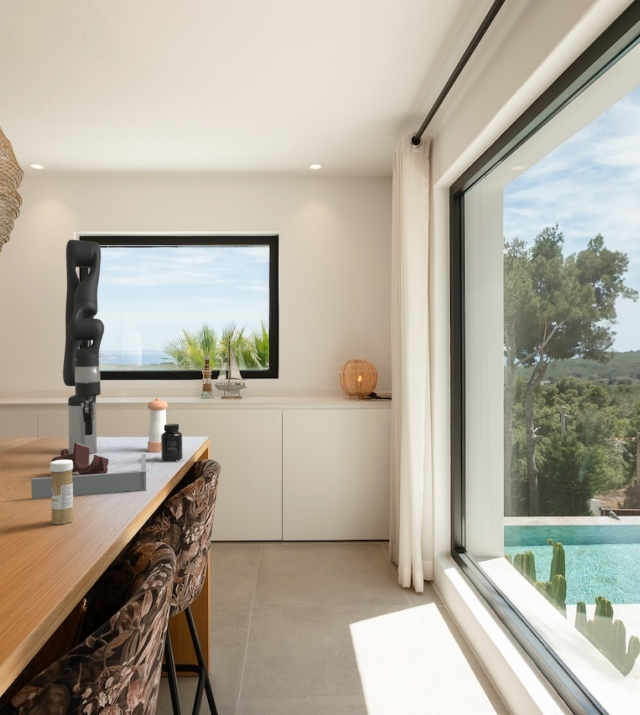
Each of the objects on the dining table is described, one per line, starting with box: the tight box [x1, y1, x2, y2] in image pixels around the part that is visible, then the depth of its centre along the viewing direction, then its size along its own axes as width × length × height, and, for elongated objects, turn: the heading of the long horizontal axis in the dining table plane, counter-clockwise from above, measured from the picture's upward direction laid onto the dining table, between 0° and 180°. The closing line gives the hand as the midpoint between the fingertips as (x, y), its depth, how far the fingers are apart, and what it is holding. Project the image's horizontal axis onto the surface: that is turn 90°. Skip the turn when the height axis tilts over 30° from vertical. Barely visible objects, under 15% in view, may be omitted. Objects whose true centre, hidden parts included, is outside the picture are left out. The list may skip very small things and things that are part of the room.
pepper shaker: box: [147, 397, 169, 453], centre depth 208 cm, size 7×7×19 cm
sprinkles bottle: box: [49, 460, 74, 525], centre depth 125 cm, size 5×5×13 cm
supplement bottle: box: [160, 423, 183, 462], centre depth 191 cm, size 7×7×12 cm
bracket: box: [50, 443, 110, 475], centre depth 169 cm, size 6×17×10 cm, turn 78°
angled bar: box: [30, 453, 147, 500], centre depth 160 cm, size 25×28×5 cm
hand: (89, 434), depth 183 cm, fingers closed
